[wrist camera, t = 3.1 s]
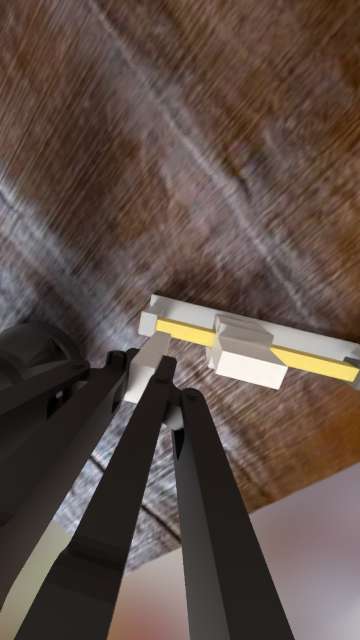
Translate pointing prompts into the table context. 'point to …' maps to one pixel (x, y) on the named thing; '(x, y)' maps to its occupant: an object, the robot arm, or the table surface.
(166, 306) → the linear slide rail
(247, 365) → the white stepped block
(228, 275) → the table surface
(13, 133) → the table surface
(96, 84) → the table surface
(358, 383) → the long yellow bar
